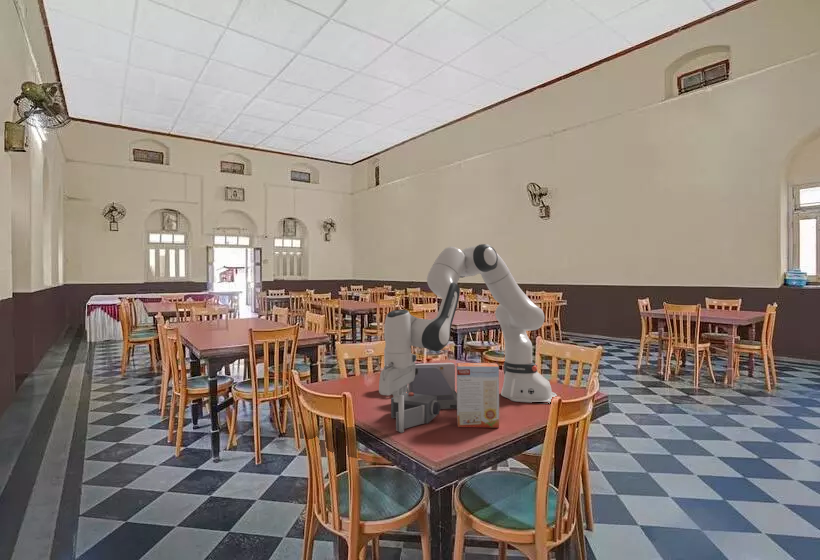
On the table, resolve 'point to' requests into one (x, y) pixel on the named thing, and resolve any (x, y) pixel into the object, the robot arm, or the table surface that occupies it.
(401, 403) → the side door
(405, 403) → the camera box
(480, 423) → the cracker box
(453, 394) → the instant camera
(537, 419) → the table surface
